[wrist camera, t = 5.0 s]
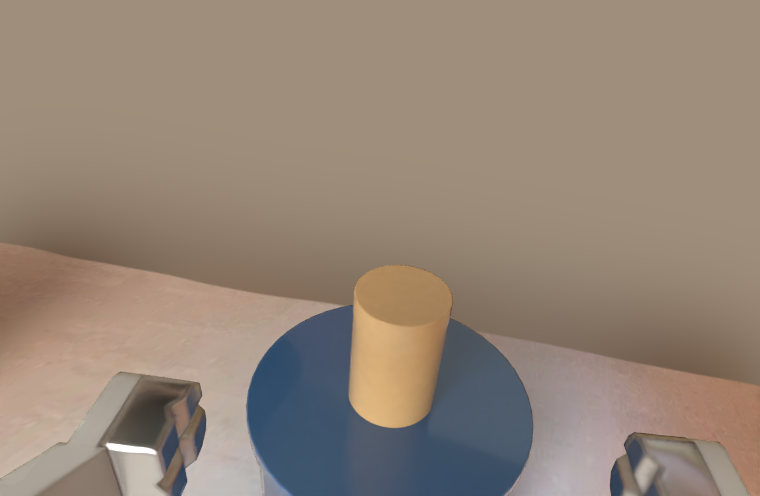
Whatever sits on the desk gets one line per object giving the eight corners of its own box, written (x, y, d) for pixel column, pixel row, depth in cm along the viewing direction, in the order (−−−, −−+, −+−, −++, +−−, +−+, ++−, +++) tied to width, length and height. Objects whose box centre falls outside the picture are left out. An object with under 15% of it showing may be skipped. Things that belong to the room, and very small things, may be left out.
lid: (267, 594, 21) (257, 469, 16) (236, 338, 32) (225, 224, 28) (585, 504, 25) (645, 386, 20) (458, 305, 36) (479, 202, 32)
